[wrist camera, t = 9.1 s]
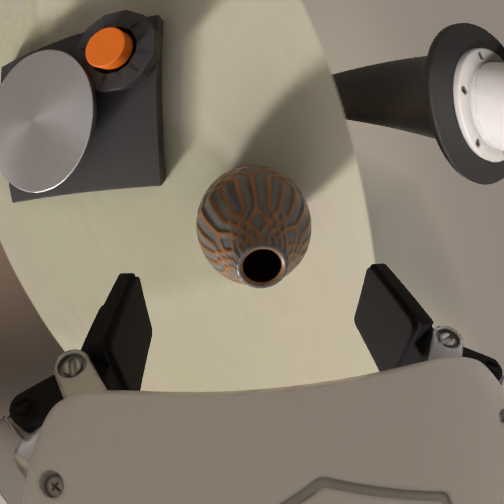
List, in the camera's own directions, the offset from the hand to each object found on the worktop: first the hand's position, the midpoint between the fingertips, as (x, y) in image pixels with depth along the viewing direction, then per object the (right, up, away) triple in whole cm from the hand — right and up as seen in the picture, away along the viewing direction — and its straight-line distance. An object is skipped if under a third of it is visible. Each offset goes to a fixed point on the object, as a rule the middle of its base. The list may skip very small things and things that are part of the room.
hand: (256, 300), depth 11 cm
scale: (-13, +12, +5) cm, 19 cm away
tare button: (-9, +14, +1) cm, 16 cm away
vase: (0, +6, +10) cm, 11 cm away
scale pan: (-15, +11, +2) cm, 18 cm away
